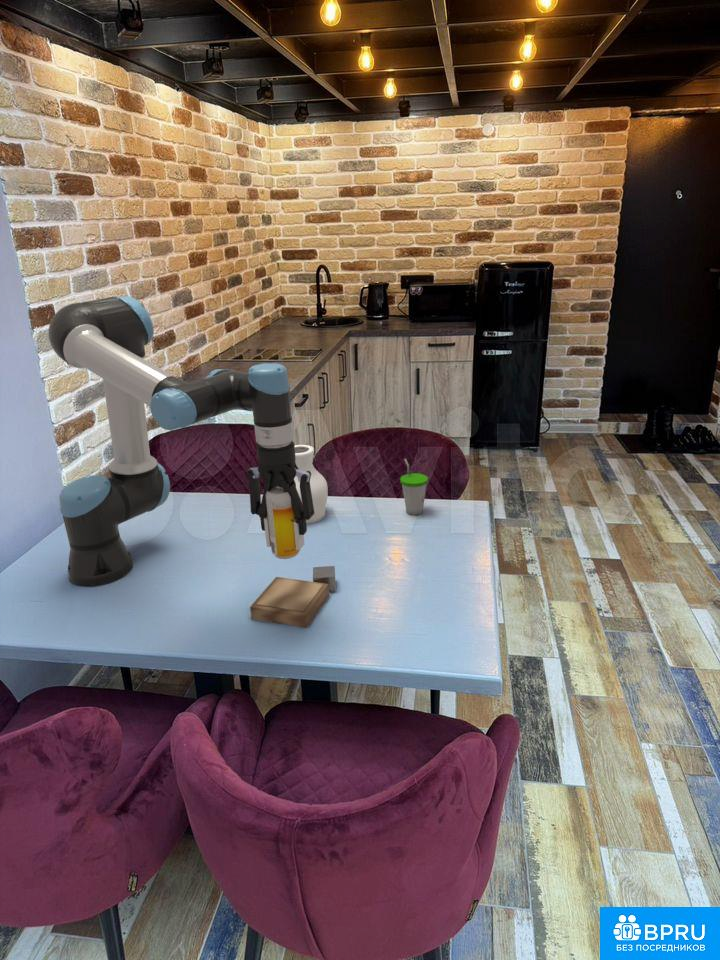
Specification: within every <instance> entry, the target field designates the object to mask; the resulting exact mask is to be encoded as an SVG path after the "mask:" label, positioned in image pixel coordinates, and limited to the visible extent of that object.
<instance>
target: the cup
mask: <svg viewBox="0 0 720 960" xmlns="http://www.w3.org/2000/svg"><path fill="white" fill-rule="evenodd" d="M403 461H404V462H405V464H406V467H407V468H406V469H407V473H405V474H403V475H402V476H400V479H399V483H400V484H401V489H402V493H403V498H404V499H403V500H404V505H405V510H406V513H407V514H408V515H410V516H420V515H422V514H423V512H424V506H425V498H426V497H425V496H426V492H427V491H426V490H427V484H428V483H429V477H428V476H427V475H425V474H422V473H415V472H414V473H413V472H411V473H410V464H409V462H408V460H407V458H404V459H403Z"/></svg>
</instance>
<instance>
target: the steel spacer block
mask: <svg viewBox="0 0 720 960" xmlns="http://www.w3.org/2000/svg"><path fill="white" fill-rule="evenodd" d="M335 567H336V566H335V565H329V566H328V565H325V566H313V567H312V582H317V583H325V584H329V593H331V592H332V593H335V592H337V589H336V588H337V587H336V586H337V585H336V584H337V583H336V570H335V569H336V568H335Z"/></svg>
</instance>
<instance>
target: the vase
mask: <svg viewBox="0 0 720 960" xmlns="http://www.w3.org/2000/svg"><path fill="white" fill-rule="evenodd" d="M294 446H295V457H296V459H295V463H296V465H297V467H298V470H301V471H303V472H306V471H310V472H311V478H310V487H311V494H312V500H313V507H314V515H313V516H312V517H311V518H310V519H309V520H306V525H310V524H314V523H317V522H320V521H321V520H323V519H324V518H325V517H326V508H327V507H326V506H327V502H328V494H329V490H328V482H327V480H326V479H325V477H324V476H323V474H321V473H320V472H319V471H318V469H316V468H315V466H314V464H313V459H314V455H315V448H314V447H313V446H311V445H309V444H294ZM294 481H295V483H296V489H297V492H298V494H299V497H300V499H301V502H302V498H301V492H300V482H298V477H297V476H295V478H294Z"/></svg>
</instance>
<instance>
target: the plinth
mask: <svg viewBox="0 0 720 960" xmlns="http://www.w3.org/2000/svg"><path fill="white" fill-rule="evenodd" d="M329 597H330V592H329V584H325V583H317V582H313V581H309V580H302V579H301V580H300V579H295V578H294V579H293V578H289V577H288V578H287V577H280V576H275V577H274V579H273V580H271V582H270V583H269V584H268V585H267V587H266V588H265V589H264V590H263V591H262V592H261V593H260V594H259V596H258V597H257V598H256V599H255V601H253V603H252V604H251V605H250V606H249V609H250V617H251V619H252V620H257V621H261V622H269V623H276V624H282V625H287V626H288V625H289V626H294V627H300V628H306V629H307V628H308V627H309V626H310V625H311V623H312V622H313V620H314V619H315V617H317V614H318V613H319V611H321V608H322V607H323V606H324V604H325V603H326V602H327V600H328V599H329Z"/></svg>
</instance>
